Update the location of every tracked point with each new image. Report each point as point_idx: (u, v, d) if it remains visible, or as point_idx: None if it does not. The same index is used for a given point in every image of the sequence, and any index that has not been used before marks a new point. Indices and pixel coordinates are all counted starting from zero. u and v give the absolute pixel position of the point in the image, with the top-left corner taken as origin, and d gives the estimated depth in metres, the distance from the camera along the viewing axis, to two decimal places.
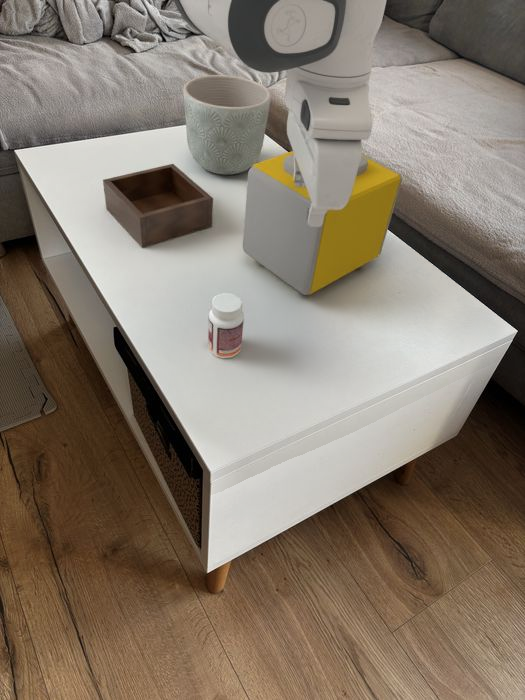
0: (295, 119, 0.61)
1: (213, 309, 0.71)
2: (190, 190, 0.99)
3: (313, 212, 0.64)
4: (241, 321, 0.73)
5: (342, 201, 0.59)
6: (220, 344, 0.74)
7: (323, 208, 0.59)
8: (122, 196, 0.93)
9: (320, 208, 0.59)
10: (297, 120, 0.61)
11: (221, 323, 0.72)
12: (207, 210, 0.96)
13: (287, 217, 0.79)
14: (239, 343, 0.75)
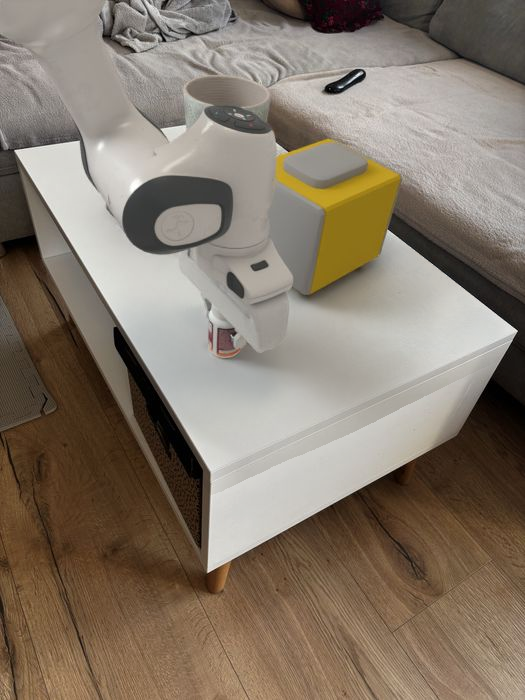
0: (211, 278, 0.66)
1: (213, 309, 0.71)
2: None
3: (239, 339, 0.71)
4: None
5: (280, 340, 0.66)
6: (220, 344, 0.74)
7: (266, 350, 0.66)
8: None
9: (263, 351, 0.66)
10: (214, 279, 0.66)
11: (221, 323, 0.72)
12: None
13: (287, 217, 0.79)
14: None
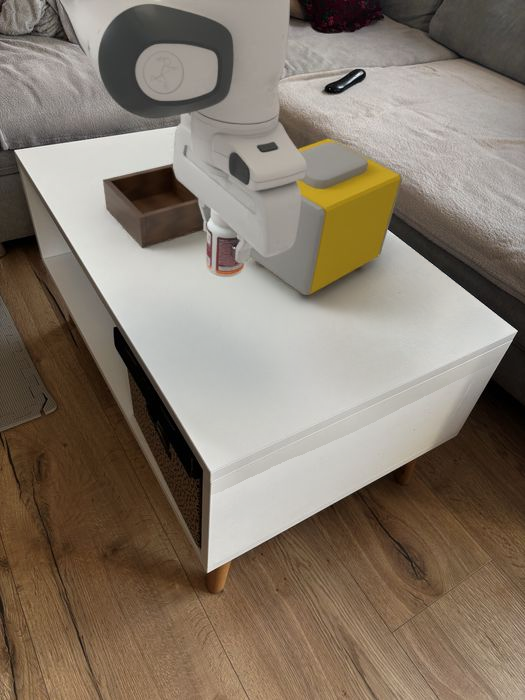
0: (210, 169, 0.57)
1: (212, 215, 0.62)
2: None
3: (242, 249, 0.62)
4: None
5: (290, 243, 0.57)
6: (220, 259, 0.65)
7: (273, 254, 0.57)
8: (122, 196, 0.93)
9: (270, 255, 0.57)
10: (214, 170, 0.57)
11: (221, 231, 0.63)
12: None
13: None
14: None
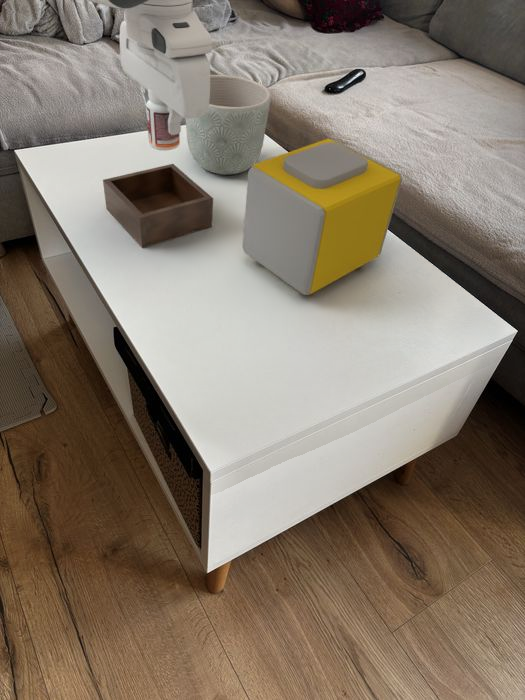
0: (142, 50, 0.73)
1: (149, 94, 0.79)
2: (190, 190, 0.99)
3: (172, 121, 0.79)
4: None
5: (204, 107, 0.74)
6: (157, 133, 0.81)
7: (191, 116, 0.74)
8: (122, 196, 0.93)
9: (189, 116, 0.74)
10: (144, 50, 0.73)
11: (156, 107, 0.79)
12: (207, 210, 0.96)
13: (287, 217, 0.79)
14: (176, 135, 0.83)
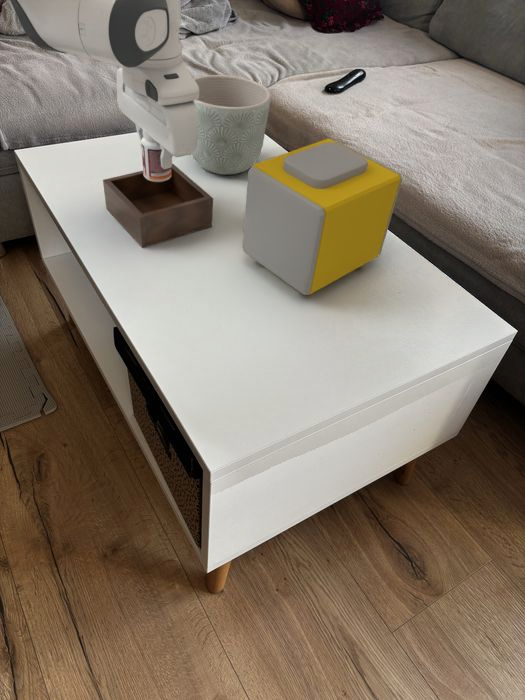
0: (136, 96, 0.82)
1: (143, 132, 0.87)
2: (190, 190, 0.99)
3: (164, 157, 0.87)
4: None
5: (193, 146, 0.82)
6: (151, 166, 0.90)
7: (181, 155, 0.82)
8: (122, 196, 0.93)
9: (179, 155, 0.82)
10: (139, 96, 0.82)
11: (150, 144, 0.88)
12: (207, 210, 0.96)
13: (287, 217, 0.79)
14: (168, 168, 0.92)
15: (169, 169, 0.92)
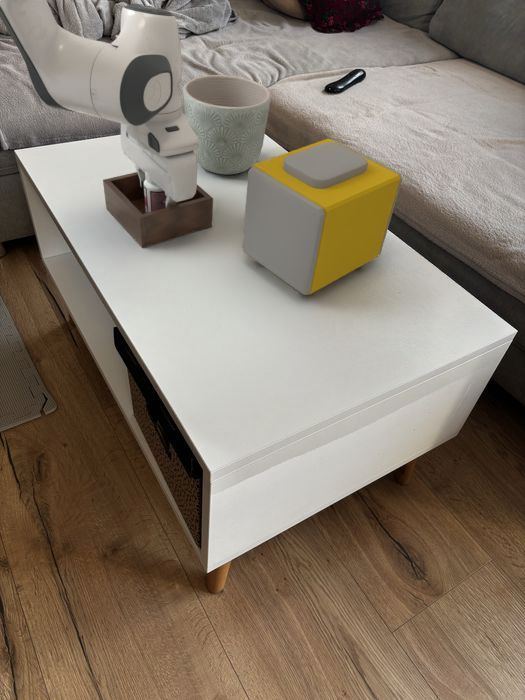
0: (139, 144, 0.87)
1: (146, 175, 0.93)
2: None
3: (169, 203, 0.92)
4: None
5: (192, 192, 0.88)
6: (153, 206, 0.95)
7: (181, 200, 0.88)
8: (122, 196, 0.93)
9: (179, 200, 0.88)
10: (142, 145, 0.87)
11: (152, 187, 0.93)
12: (207, 210, 0.96)
13: (287, 217, 0.79)
14: None
15: None
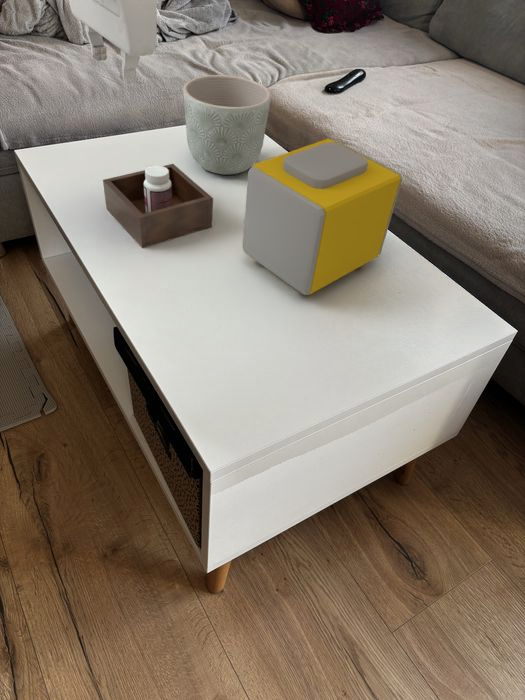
0: None
1: (146, 175, 0.93)
2: (190, 190, 0.99)
3: (126, 67, 0.75)
4: (168, 187, 0.94)
5: (151, 44, 0.71)
6: (153, 206, 0.95)
7: (138, 53, 0.71)
8: (122, 196, 0.93)
9: (135, 54, 0.70)
10: None
11: (152, 187, 0.93)
12: (207, 210, 0.96)
13: (287, 217, 0.79)
14: None
15: None
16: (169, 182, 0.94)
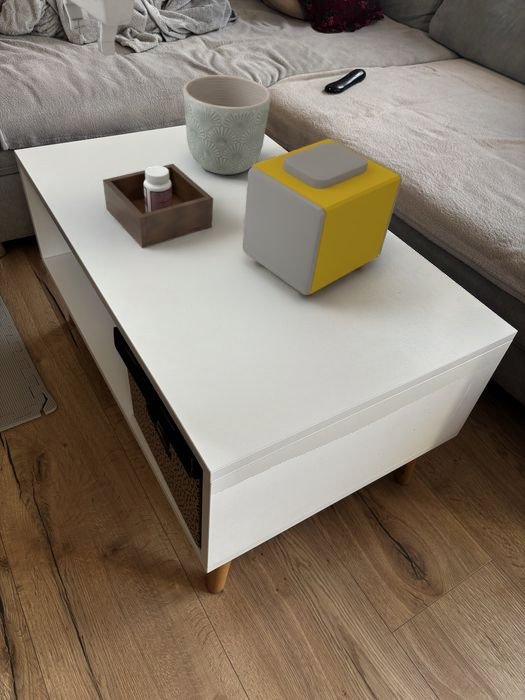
0: None
1: (146, 175, 0.93)
2: (190, 190, 0.99)
3: (104, 38, 0.71)
4: (168, 187, 0.94)
5: (128, 12, 0.67)
6: (153, 206, 0.95)
7: (114, 22, 0.67)
8: (122, 196, 0.93)
9: (112, 23, 0.67)
10: None
11: (152, 187, 0.93)
12: (207, 210, 0.96)
13: (287, 217, 0.79)
14: None
15: None
16: (169, 182, 0.94)
